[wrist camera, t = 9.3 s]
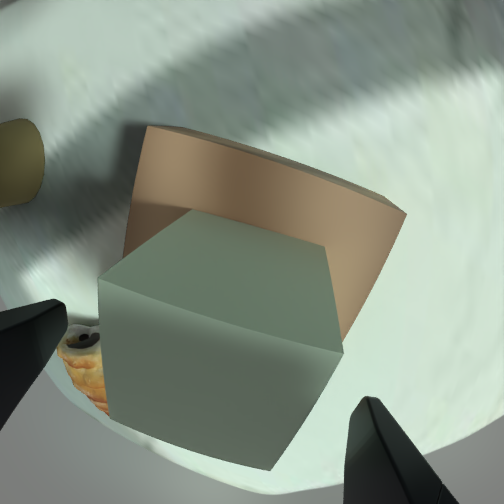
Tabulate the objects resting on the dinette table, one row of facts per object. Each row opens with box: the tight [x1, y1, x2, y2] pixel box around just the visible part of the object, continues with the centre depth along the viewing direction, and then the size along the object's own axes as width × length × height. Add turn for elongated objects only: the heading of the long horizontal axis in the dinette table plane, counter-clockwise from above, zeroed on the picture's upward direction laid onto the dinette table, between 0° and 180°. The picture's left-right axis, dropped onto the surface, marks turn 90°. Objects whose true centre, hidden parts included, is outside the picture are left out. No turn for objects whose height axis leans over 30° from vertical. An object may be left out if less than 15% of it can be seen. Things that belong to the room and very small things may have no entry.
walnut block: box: [123, 126, 407, 342], centre depth 14 cm, size 10×10×4 cm
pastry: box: [57, 324, 109, 416], centre depth 19 cm, size 9×7×4 cm
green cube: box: [98, 209, 344, 471], centre depth 9 cm, size 5×5×6 cm
